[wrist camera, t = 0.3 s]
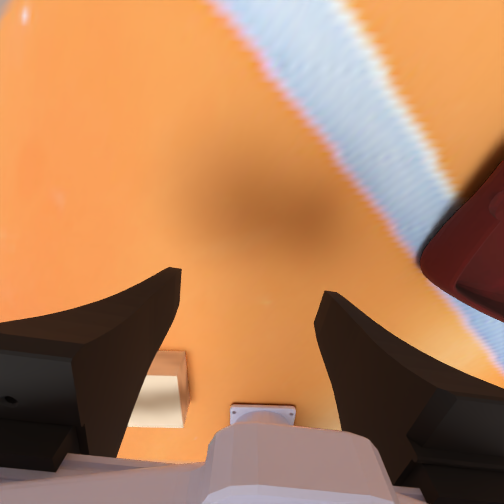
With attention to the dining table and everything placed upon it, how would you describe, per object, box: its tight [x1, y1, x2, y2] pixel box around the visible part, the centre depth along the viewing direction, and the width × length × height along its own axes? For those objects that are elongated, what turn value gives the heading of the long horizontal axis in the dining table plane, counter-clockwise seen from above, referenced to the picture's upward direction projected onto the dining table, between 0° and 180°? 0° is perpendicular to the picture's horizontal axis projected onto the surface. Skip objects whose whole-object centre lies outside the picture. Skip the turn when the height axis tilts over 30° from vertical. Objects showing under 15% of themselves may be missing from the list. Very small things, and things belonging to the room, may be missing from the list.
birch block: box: [127, 351, 190, 428], centre depth 27 cm, size 8×8×4 cm
